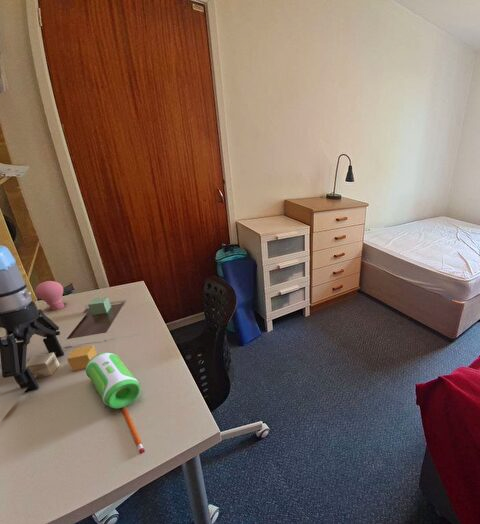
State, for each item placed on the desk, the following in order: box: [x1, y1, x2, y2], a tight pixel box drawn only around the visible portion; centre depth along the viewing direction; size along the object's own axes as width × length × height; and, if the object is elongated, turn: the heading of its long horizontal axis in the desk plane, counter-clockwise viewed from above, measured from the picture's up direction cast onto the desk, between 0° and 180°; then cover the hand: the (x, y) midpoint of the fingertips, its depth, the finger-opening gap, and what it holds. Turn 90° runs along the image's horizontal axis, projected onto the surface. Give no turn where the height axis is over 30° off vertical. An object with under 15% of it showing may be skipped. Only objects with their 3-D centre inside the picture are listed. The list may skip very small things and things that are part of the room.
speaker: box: [85, 351, 141, 410], centre depth 72 cm, size 18×7×8 cm, turn 53°
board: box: [66, 302, 125, 340], centre depth 100 cm, size 12×20×1 cm, turn 22°
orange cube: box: [66, 344, 98, 372], centre depth 81 cm, size 4×4×4 cm
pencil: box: [120, 406, 146, 455], centre depth 65 cm, size 1×19×1 cm, turn 49°
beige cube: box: [25, 352, 61, 380], centre depth 78 cm, size 4×4×4 cm
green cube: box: [87, 296, 112, 315], centre depth 104 cm, size 4×4×4 cm
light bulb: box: [34, 280, 65, 311], centre depth 104 cm, size 7×7×12 cm
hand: (45, 371), depth 78 cm, fingers open, 13 cm apart
